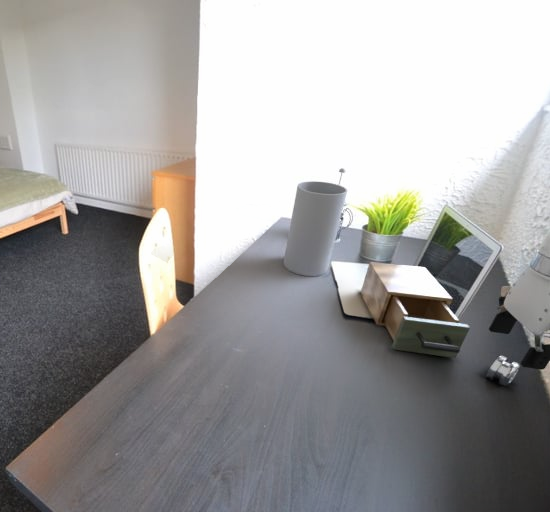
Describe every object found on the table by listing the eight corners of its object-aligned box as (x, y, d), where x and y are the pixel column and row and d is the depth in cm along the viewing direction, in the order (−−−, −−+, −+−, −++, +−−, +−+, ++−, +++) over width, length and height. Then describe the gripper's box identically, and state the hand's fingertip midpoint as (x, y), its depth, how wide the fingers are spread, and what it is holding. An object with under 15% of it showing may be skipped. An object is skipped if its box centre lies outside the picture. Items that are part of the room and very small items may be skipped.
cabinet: (437, 334, 84) (453, 298, 79) (376, 325, 86) (388, 291, 82) (412, 299, 96) (425, 267, 92) (360, 293, 99) (369, 261, 95)
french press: (319, 230, 137) (335, 163, 125) (351, 240, 129) (371, 169, 118) (306, 237, 131) (320, 168, 120) (338, 248, 123) (357, 175, 112)
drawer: (466, 373, 72) (482, 341, 68) (400, 363, 74) (413, 332, 71) (427, 319, 87) (439, 291, 83) (374, 312, 90) (383, 285, 86)
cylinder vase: (336, 273, 109) (358, 191, 97) (303, 281, 105) (321, 197, 93) (305, 255, 119) (322, 179, 108) (274, 262, 115) (287, 184, 103)
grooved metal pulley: (494, 371, 73) (505, 351, 71) (513, 380, 71) (525, 361, 69) (482, 380, 71) (493, 361, 69) (501, 390, 69) (513, 371, 67)
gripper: (641, 299, 51) (574, 388, 59) (552, 247, 66) (509, 323, 74) (576, 292, 53) (519, 379, 61) (504, 243, 68) (466, 317, 76)
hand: (513, 348), depth 68 cm, fingers open, 9 cm apart
